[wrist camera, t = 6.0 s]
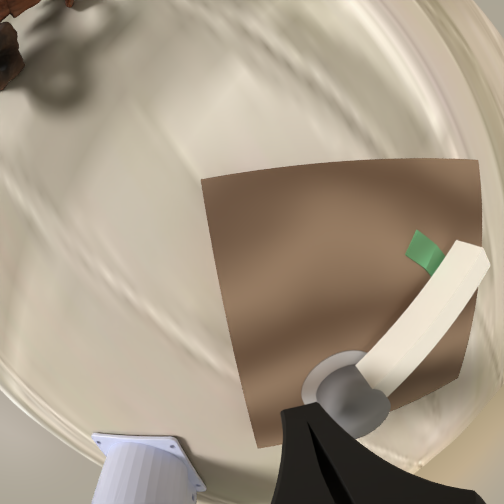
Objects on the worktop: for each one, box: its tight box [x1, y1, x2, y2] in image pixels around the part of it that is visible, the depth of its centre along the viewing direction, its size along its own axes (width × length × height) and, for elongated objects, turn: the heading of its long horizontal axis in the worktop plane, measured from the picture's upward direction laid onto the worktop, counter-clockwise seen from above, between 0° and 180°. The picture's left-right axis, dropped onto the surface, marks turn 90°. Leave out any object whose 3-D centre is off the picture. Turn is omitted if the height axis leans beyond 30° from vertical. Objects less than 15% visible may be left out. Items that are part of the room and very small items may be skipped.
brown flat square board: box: [201, 158, 482, 448], centre depth 15 cm, size 18×18×2 cm
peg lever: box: [316, 240, 490, 439], centre depth 13 cm, size 13×4×3 cm, turn 139°
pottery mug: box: [0, 0, 74, 90], centre depth 7 cm, size 12×10×8 cm
